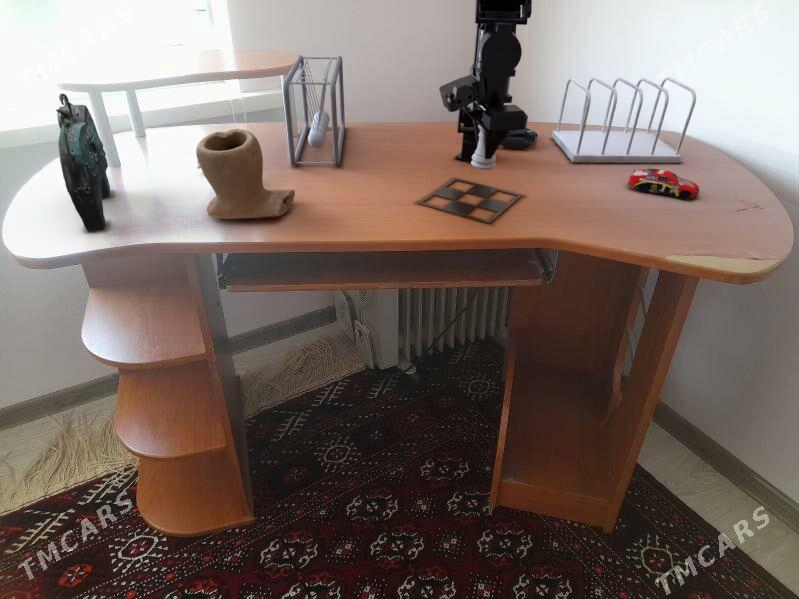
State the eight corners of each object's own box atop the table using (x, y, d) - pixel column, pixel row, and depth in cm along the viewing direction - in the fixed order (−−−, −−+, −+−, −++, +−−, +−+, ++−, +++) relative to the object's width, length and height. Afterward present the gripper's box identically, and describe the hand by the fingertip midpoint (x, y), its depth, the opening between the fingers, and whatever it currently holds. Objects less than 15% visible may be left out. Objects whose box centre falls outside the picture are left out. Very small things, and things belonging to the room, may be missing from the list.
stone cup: (199, 229, 94) (180, 144, 85) (216, 200, 103) (201, 121, 95) (287, 229, 94) (277, 144, 86) (296, 201, 104) (288, 121, 95)
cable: (465, 148, 130) (467, 129, 128) (466, 130, 142) (468, 113, 139) (538, 152, 128) (541, 133, 126) (533, 133, 140) (536, 116, 137)
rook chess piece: (495, 171, 95) (500, 125, 90) (469, 169, 96) (473, 123, 91) (496, 162, 99) (501, 118, 94) (471, 160, 99) (476, 116, 95)
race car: (697, 193, 110) (704, 174, 108) (696, 203, 106) (703, 183, 104) (629, 180, 115) (634, 162, 113) (625, 189, 111) (630, 170, 108)
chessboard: (455, 179, 114) (455, 178, 114) (521, 195, 107) (522, 194, 107) (417, 203, 104) (417, 202, 104) (489, 224, 97) (489, 223, 97)
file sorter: (572, 163, 122) (586, 91, 114) (550, 138, 137) (562, 73, 128) (680, 163, 124) (703, 92, 115) (648, 138, 138) (666, 73, 129)
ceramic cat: (85, 190, 106) (49, 83, 95) (121, 186, 108) (90, 81, 97) (75, 236, 91) (31, 114, 80) (117, 230, 93) (80, 111, 82)
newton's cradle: (304, 126, 142) (298, 53, 132) (345, 127, 142) (342, 53, 132) (290, 169, 117) (281, 83, 107) (339, 169, 118) (335, 83, 108)
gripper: (431, 50, 93) (427, 139, 102) (463, 76, 78) (455, 178, 87) (492, 48, 95) (483, 136, 104) (536, 73, 80) (520, 173, 89)
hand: (484, 154), depth 96 cm, fingers closed on rook chess piece, 3 cm apart
